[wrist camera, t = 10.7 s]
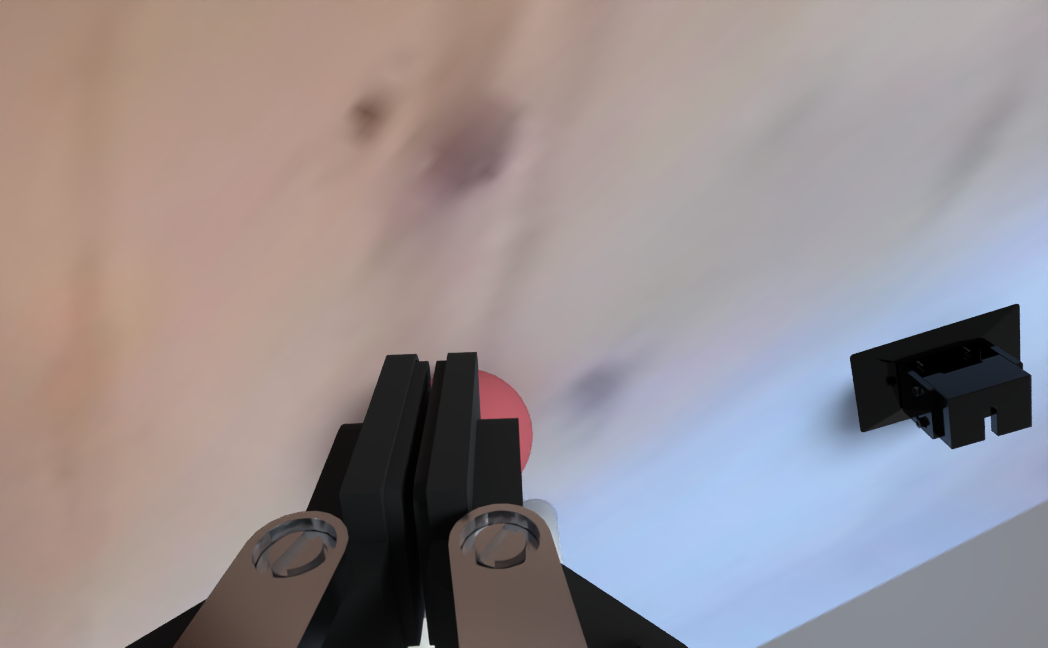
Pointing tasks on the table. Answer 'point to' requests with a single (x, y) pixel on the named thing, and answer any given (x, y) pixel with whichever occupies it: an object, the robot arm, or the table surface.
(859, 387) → the black boxy piece
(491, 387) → the ball
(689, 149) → the table surface
